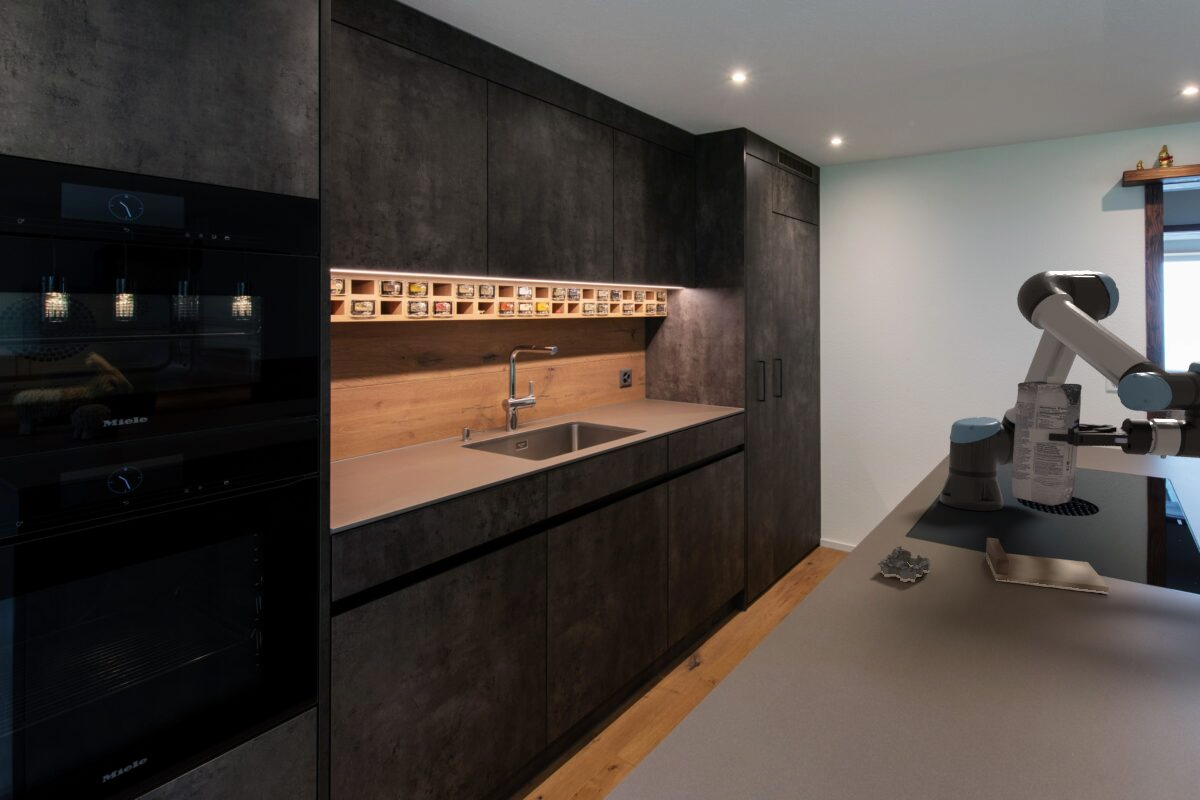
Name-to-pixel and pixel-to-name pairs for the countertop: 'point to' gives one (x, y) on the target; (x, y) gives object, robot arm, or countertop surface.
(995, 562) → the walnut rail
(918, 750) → the countertop surface
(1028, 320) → the robot arm
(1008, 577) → the oak board
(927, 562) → the egg carton
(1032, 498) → the juice carton
